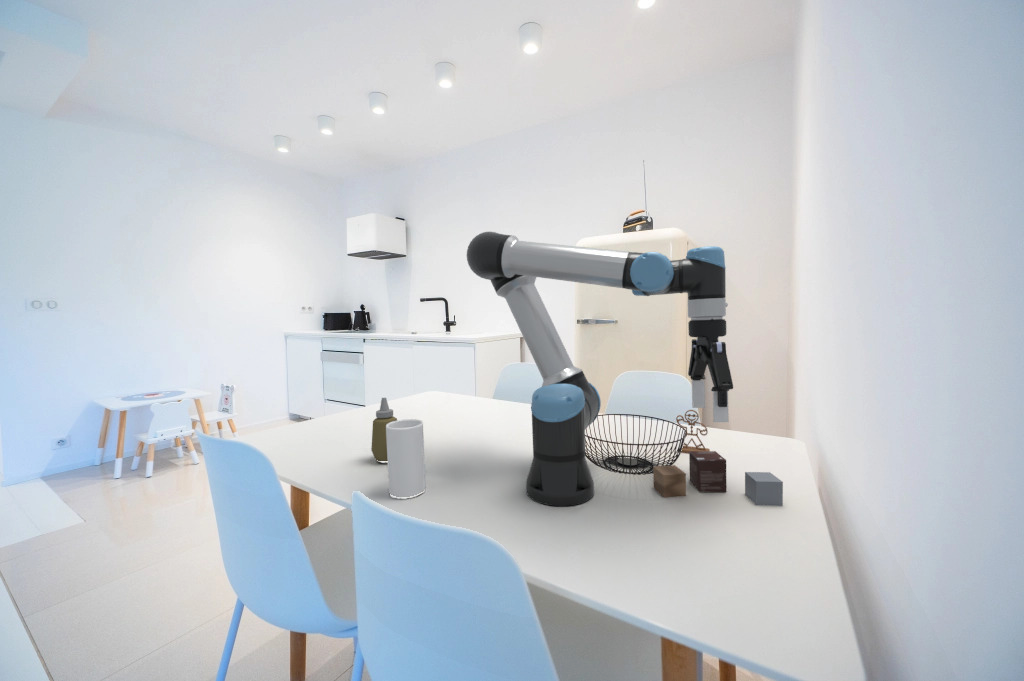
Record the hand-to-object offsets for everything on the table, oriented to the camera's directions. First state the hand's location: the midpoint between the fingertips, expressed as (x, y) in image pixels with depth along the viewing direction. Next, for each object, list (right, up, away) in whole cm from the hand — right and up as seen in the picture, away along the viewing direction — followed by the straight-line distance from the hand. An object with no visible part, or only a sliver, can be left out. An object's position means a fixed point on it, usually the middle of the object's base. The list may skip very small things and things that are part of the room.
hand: (708, 414), depth 90 cm
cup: (-68, -19, +4) cm, 71 cm away
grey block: (+8, -17, -6) cm, 20 cm away
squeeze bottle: (-79, -18, +25) cm, 85 cm away
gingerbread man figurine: (+7, -15, +24) cm, 30 cm away
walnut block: (-9, -17, -1) cm, 19 cm away
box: (0, -17, +1) cm, 17 cm away
